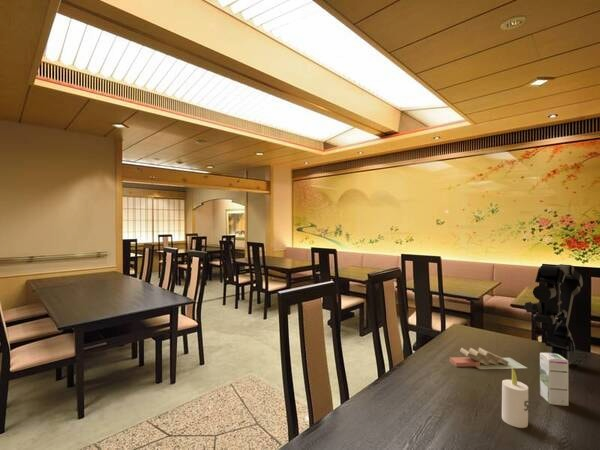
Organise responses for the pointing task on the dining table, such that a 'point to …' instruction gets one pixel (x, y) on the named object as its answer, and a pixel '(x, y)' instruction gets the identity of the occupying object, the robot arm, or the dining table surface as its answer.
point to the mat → (502, 365)
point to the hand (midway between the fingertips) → (550, 337)
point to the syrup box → (554, 378)
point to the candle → (515, 402)
